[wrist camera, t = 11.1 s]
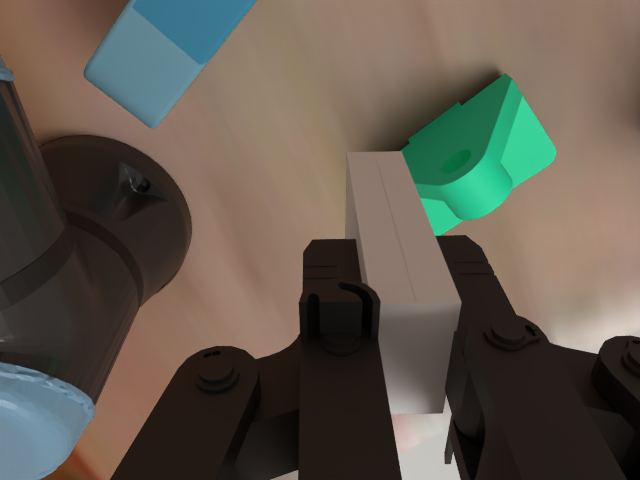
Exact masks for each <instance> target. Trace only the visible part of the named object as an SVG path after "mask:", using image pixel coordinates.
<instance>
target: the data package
mask: <svg viewBox="0 0 640 480" xmlns="http://www.w3.org/2000/svg"><path fill="white" fill-rule="evenodd" d="M255 2H256V0H129V2H128V3H127V5H126V6H125V8H124V9H123V11H122V12H121V14H120V15H119V17H118V18H117V20H116V21H115V23H114V24H113V26H112V27H111V29H110V30H109V32H108V33H107V35H106V36H105V38H104V39H103V41H102V42H101V44H100V45H99V47H98V48H97V50H96V51H95V53H94V54H93V56H92V57H91V59H90V60H89V62H88V64H87V65H86V67H85V70H84V77H85V78H86V79H87V80H88V81H90V82H91V83H92V84H93V85H95V86H96V87H97V88H99V89H100V90H101V91H103V92H104V93H105V94H106V95H108V96H109V97H110V98H112V99H113V100H114V101H116V102H117V103H118V104H120V105H121V106H122V107H123V108H125V109H126V110H127V111H129V112H130V113H131V114H133V115H134V116H135V117H137V118H138V119H139V120H140V121H142V122H143V123H144V124H146V125H147V126H148V127H150V128H152V129H154V128H156V127H157V126H158V125H159V124H160V122H161V121H162V120H163V119H164V117H165V116H166V115H167V113H168V112H169V111H170V110H171V108H172V107H173V106H174V105H175V103H176V102H177V101H178V99H179V98H180V97H181V96H182V94H183V93H184V92H185V91H186V89H187V88H188V87H189V85H190V84H191V83H192V82H193V80H194V79H195V78H196V77H197V75H198V74H199V73H200V72H201V70H202V69H203V68H204V66H205V65H206V64H207V63H208V61H209V60H210V59H211V58H212V56H213V55H214V54H215V52H216V51H217V50H218V49H219V47H220V46H221V45H222V44H223V42H224V41H225V40H226V38H227V37H228V36H229V35H230V33H231V32H232V31H233V30H234V28H235V27H236V26H237V24H238V23H239V22H240V21H241V19H242V18H243V17H244V16H245V14H246V13H247V12H248V11H249V9H250V8H251V7H252V5H253V4H254V3H255Z"/></svg>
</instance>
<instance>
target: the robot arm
mask: <svg viewBox="0 0 640 480" xmlns="http://www.w3.org/2000/svg"><path fill="white" fill-rule="evenodd" d="M13 80H15V77H14V74H13V72H12V71H11V70H10V69H8V68H6V66H5V64H4V62H3V59H2V57H1V55H0V480H40V479H42V478H43V477H45V476H47V475H49V474H50V473H52V472H53V471H54V470H56V469H57V467H58V466H59V465H61V464H62V463H63V462H64V461H65V460H66V459H67V458H68V456H69V455H70V453H71V452H72V450H73V448H74V446H75V445H76V443H77V441H78V439H79V438H80V436H81V434H82V433H83V431H84V429H85V428H86V426H87V425H88V424H89V423H90V422H91V421H92V419H93V417H94V414H95V410H96V409H94V407H95V405H96V403H97V401H98V398H99V396H100V394H101V392H102V390H103V387H104V385H105V383H106V381H107V379H108V376H109V374H110V372H111V370H112V367H113V365H114V363H115V361H116V359H117V356H118V354H119V352H120V350H121V348H122V345H123V343H124V341H125V339H126V336H127V334H128V332H129V330H130V328H131V325H132V323H133V321H134V319H135V316H136V314H137V312H138V310H139V308H140V307H141V306H142V305H143V304H144V303H145V302H146V301H147V300H148V299H150V298H151V297H152V296H153V295H154V294H156V293H158V292H159V291H160V290H162V289H163V288H164V287H165V286H166V285H168V284H169V283H170V282H171V281H172V279H173V278H174V277H175V276H176V274H177V273H178V271H179V270H180V268H181V266H182V264H183V261H184V259H185V256H186V254H187V251H188V249H189V245H190V242H191V235H192V223H191V216H190V212H189V208H188V205H187V203H186V200H185V198H184V196H183V194H182V192H181V191H180V189H179V187H178V186H177V184H176V183H175V182H174V180H173V179H172V178H171V177H170V175H169V174H168V173H167V172H166V171H165V170H164V169H163V168H162V167H161V166H159V165H158V164H157V163H156V162H155V161H153V160H152V159H151V158H149V157H148V156H146V155H145V154H143V153H142V152H140V151H138V150H136V149H134V148H132V147H130V146H128V145H125V144H123V143H120V142H117V141H114V140H111V139H107V138H102V137H95V136H69V137H63V138H59V139H56V140H53V141H50V142H48V143H45V144H43V145H42V146H40V147H38V145H37V142H36V140H35V137H34V135H33V132H32V130H31V127H30V124H29V122H28V119H27V117H26V114H25V112H24V109H23V106H22V104H21V101H20V99H19V96H18V94H17V91H16V88H15V86H14V83H13ZM299 317H300V334H299V335H298V337H297V339H296V340H295V341H294V342H293V343H292V344H291V345H290V346H288V347H287V348H285V349H284V350H282V351H280V352H278V353H275V354H272V355H270V356H266V357H262V358H259V359H255V358H254V357H252V356H251V355H250V354H249V353H248V352H246V351H245V350H242V349H239V348H236V347H233V346H215V347H211V348H207V349H204V350H201V351H199V352H197V353H195V354H194V355H192V356H190V357H188V358H187V359H186V361H185V362H184V363H183V364H182V365H181V366H180V367H179V368H178V370H177V371H176V373H175V375H174V376H173V378H172V379H171V381H170V383H169V384H168V386H167V388H166V389H165V391H164V393H163V394H162V396H161V397H160V399H159V401H158V402H157V404H156V406H155V407H154V409H153V410H152V412H151V414H150V415H149V417H148V419H147V420H146V422H145V423H144V425H143V427H142V428H141V430H140V432H139V433H138V435H137V436H136V438H135V440H134V441H133V443H132V445H131V446H130V448H129V449H128V451H127V453H126V454H125V456H124V458H123V459H122V461H121V462H120V464H119V466H118V467H117V469H116V471H115V472H114V474H113V475H112V477H111V479H110V480H270V479H273V478H276V477H279V476H281V475H284V474H287V473H290V472H293V471H296V470H298V480H402V477H401V472H400V466H399V460H398V454H397V448H396V442H395V436H394V430H393V424H392V418H391V414H433V413H443V409H444V403H445V398H446V395H447V399H448V402H449V406H450V409H451V413H452V415H451V421H450V426H449V432H448V437H447V443H446V448H445V464H451V460H452V454H453V452H454V456H455V460H456V463H457V467H458V471H459V474H460V478H461V480H640V338H639V337H634V336H615V337H613V338H611V339H608V340H606V341H605V342H604V343H603V345H602V347H601V348H600V350H599V353H598V354H595V353H590V352H585V351H580V350H575V349H570V348H565V347H562V346H558V345H555V344H552V343H550V342H549V340H548V339H547V337H546V335H545V334H544V333H543V332H542V331H541V329H540V328H539V327H538V326H537V325H535V324H534V323H532V322H531V321H529V320H527V319H526V318H524V317H521V316H518V315H516V313H515V311H514V309H513V308H512V306H511V304H510V302H509V300H508V298H507V296H506V294H505V292H504V290H503V288H502V287H501V285H500V283H499V281H498V279H497V277H496V276H494V271H493V269H492V267H491V265H490V264H488V260H487V258H486V256H485V254H484V252H483V250H482V248H481V247H480V246H479V245H477V244H476V243H475V242H474V241H472V240H471V239H470V238H468V237H467V236H466V235H454V236H435V234H434V232H433V229H432V227H431V224H430V222H429V219H428V217H427V214H426V212H425V209H424V207H423V204H422V201H421V199H420V196H419V194H418V191H417V189H416V186H415V184H414V181H413V179H412V176H411V174H410V171H409V169H408V166H407V164H406V161H405V159H404V156H403V154H402V151H391V152H347V166H346V223H345V239H320V240H312V241H311V242H310V244H309V245H308V246H307V248H306V249H305V251H304V252H303V293H302V295H301V298H300V301H299Z"/></svg>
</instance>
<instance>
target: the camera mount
mask: <svg viewBox="0 0 640 480" xmlns="http://www.w3.org/2000/svg"><path fill="white" fill-rule="evenodd" d="M408 141H409V143H410V144H408V145H407V146H406V147H404V148H403V149H402V150H400V151H402V154H403V156H404V159H405V161H406V164H407V166H408V169H409V171H410V174H411V176H412V179H413V181H414V184H415V186H416V189H417V191H418V194H419V196H420V199H421V201H422V204H423V207H424V209H425V212H426V214H427V217H428V219H429V222H430V224H431V227H432V229H433V232H434V234H435V236H440V235H442V234H443V233H445V232H446V231H448V230H449V229H451V228H453V227H454V226H456V225H457V224H459V223H460V222H462V221H463V220H472V219H476V218H479V217H482V216H484V215H486V214H488V213H490V212H491V211H493V210H494V209H496V208H497V207H498V206H499V205H500V204H501V203H502V202H503V201H504V200H505V199H506V198H507V197H508V195H509V193H510V192H511V189H513V188H514V187H516V186H518V185H519V184H521V183H522V182H524V181H525V180H527V179H528V178H530V177H531V176H533V175H535V174H536V173H538V172H539V171H541V170H542V169H544V168H545V167H547V166H548V165H550V164H551V163H552V162H553V160H554V159H555V156H556V149H555V147H554V145H553V143H552V142H551V140H550V139H549V137H548V135H547V134H546V132H545V131H544V129H543V127H542V126H541V124H540V123H539V121H538V119H537V118H536V116H535V115H534V113H533V112H532V110H531V108H530V107H529V105H528V104H527V102H526V100H525V99H524V97H523V96H522V94H521V92H520V91H519V89H518V88H517V86H516V84H515V83H514V81H513V80H512V78H510V77H509V76H508V75H507V74H506V73H505V74H504V75H502V76H501V77H500V78H498V79H497V80H496V81H494V82H493V83H492V84H490V85H489V86H487V87H486V88H485V89H483V90H482V91H481V92H479V93H478V94H477V95H475V96H474V97H472V98H471V99H470V100H468V101H467V102H466V103H464V104H463V105H461V104H460V103H459V102H458V103H456V104H455V105H454V106H452V107H451V108H450V109H448V110H447V111H446V112H444V113H443V114H442V115H440V116H439V117H437V118H436V119H435V120H433V121H432V122H431V123H429V124H428V125H427V126H425V127H424V128H423V129H421V130H420V131H418V132H417V133H416V134H414V135H413V136H412V137H410V138H409V139H408Z"/></svg>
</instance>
